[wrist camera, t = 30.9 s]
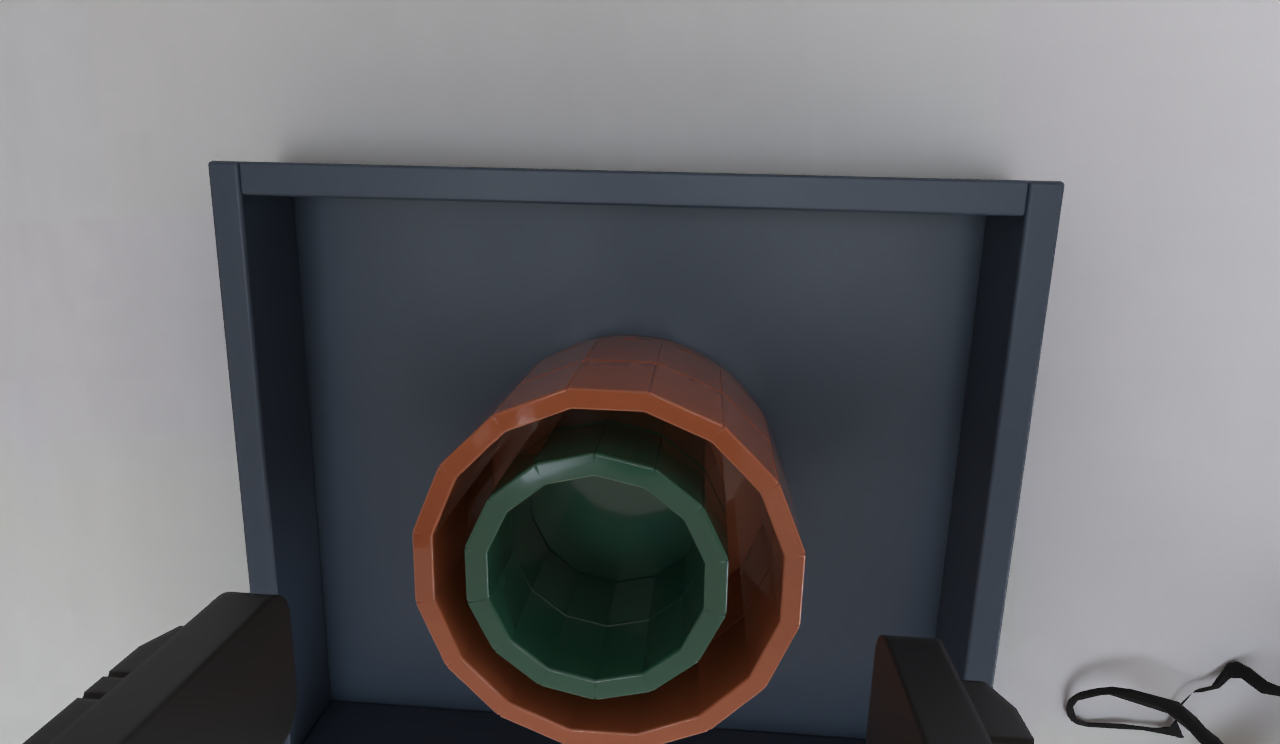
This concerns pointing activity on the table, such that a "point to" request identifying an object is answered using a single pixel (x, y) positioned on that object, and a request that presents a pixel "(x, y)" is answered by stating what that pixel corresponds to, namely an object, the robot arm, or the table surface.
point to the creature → (1174, 704)
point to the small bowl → (602, 554)
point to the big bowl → (756, 527)
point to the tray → (643, 306)
